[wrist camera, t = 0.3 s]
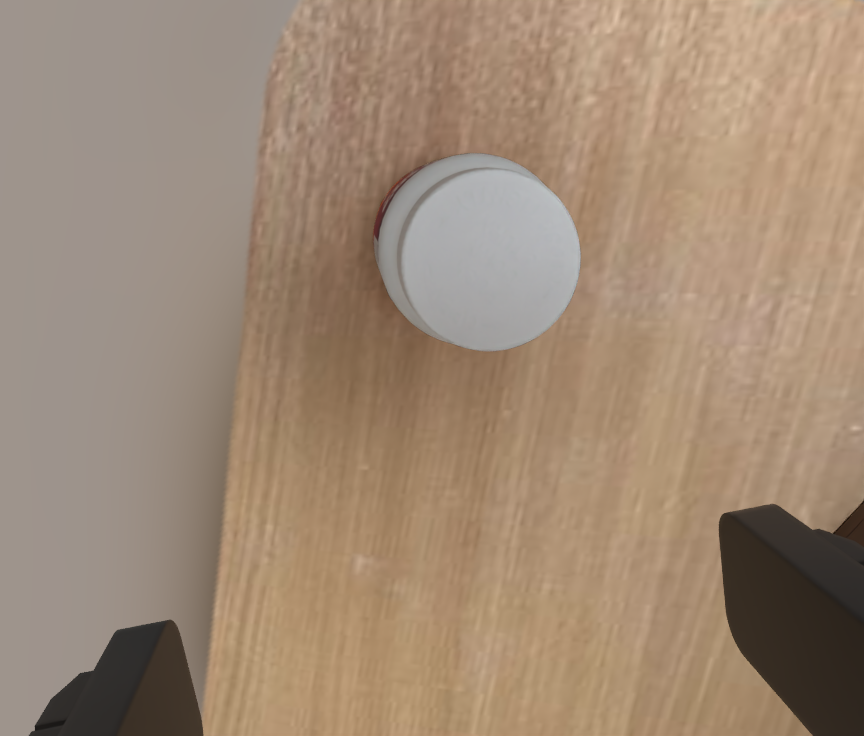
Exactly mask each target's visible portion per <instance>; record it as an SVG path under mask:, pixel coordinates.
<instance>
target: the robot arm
mask: <svg viewBox="0 0 864 736" xmlns="http://www.w3.org/2000/svg"><path fill="white" fill-rule="evenodd" d="M719 539H720V550H721V562H722V573H723V584H724V596H725V607H726V615H727V620H728V623H729V627H730V630H731V633H732V636H733V638H734V640H735V642H736V644H737V646H738V648H739V650H740V651H741V653H742V654H743V655H744V657H745V658H746V659H747V660H748V661H749V662H750V664H751V665H752V666H753V667H754V668H755V669H756V670H757V672H758V673H759V674H760V675H761V676H762V677H763V679H764V680H765V681H766V682H767V683H768V684H769V685H770V687H771V688H772V689H773V690H774V691H775V692H776V694H777V695H778V696H779V697H780V698H781V699H782V700H783V702H784V703H785V704H786V705H787V706H788V707H789V708H790V710H791V711H792V712H793V713H794V714H795V715H796V717H797V718H798V719H799V720H800V721H801V722H802V723H803V725H804V726H805V727H806V728H807V729H808V730H809V732H810V733H811V734H812V735H813V736H864V547H863V546H861V545H860V544H858V543H857V542H855V541H853V540H850V539H847V538H844V537H841V536H838V535H835V534H832V533H829V532H827V531H824V530H821V529H816V530H812V529H810V528H809V527H808V526H806V525H805V524H803V523H802V522H800V521H799V520H798V519H796V518H795V517H793V516H792V515H791V514H789V513H788V512H786V511H785V510H784V509H782V508H781V507H779V506H778V505H775V504H769V505H764V506H759V507H754V508H749V509H743V510H738V511H733V512H728V513H724V514H723V515H722V516H721V518H720V521H719ZM29 736H203V727H202V720H201V715H200V711H199V707H198V703H197V699H196V695H195V691H194V687H193V683H192V679H191V675H190V672H189V668H188V663H187V659H186V656H185V652H184V647H183V644H182V640H181V636H180V633H179V630H178V628H177V626H176V624H175V623H174V621H172V620H167V621H161V622H156V623H151V624H146V625H141V626H136V627H131V628H125V629H120V630H117V631H116V632H115V633H114V635H113V637H112V638H111V640H110V642H109V644H108V645H107V647H106V649H105V651H104V653H103V654H102V656H101V658H100V660H99V662H98V663H97V665H96V667H95V669H94V671H89V672H84V673H80V674H79V675H78V676H77V677H76V678H75V679H73V680H72V681H71V682H70V683H69V684H68V685H67V686H65V688H63V689H62V690H61V691H60V692H59V693H58V694H56V695H55V696H54V697H53V698H52V699H51V700H50V702H49V704H48V705H47V707H46V709H45V710H44V712H43V713H42V715H41V717H40V719H39V720H38V722H37V723H36V725H35V731H32V732H31V733H30V735H29Z"/></svg>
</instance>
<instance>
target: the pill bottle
mask: <svg viewBox="0 0 864 736" xmlns="http://www.w3.org/2000/svg"><path fill="white" fill-rule="evenodd" d="M373 245H374V252H375V258H376V262H377V265H378V268H379V271H380V273H381V276H382V279H383V281H384V284H385V287H386V290H387V292H388V294H389V297H390V298H391V300H392V301H393V302H394V304H395V305H396V307H397V308H398V309H399V311H400V312H401V313H402V314H403V315H404V316H405V317H406V318H407V319H408V320H409V321H410V322H411V323H412V324H413V325H415V326H416V327H417V328H418V329H420V330H421V331H423V332H424V333H426V334H428V335H430V336H432V337H434V338H436V339H438V340H441V341H444V342H447V343H451V344H455V345H457V346H460V347H463V348H466V349H471V350H477V351H501V350H506V349H511V348H515V347H517V346H520V345H523V344H525V343H527V342H529V341H531V340H533V339H535V338H536V337H538V336H539V335H541V334H542V333H544V332H545V331H546V330H548V329H549V328H550V327H551V326H552V325H553V324H554V323H555V322H556V321H557V319H558V318H559V317H560V316H561V315H562V313H563V312H564V310H565V309H566V307H567V306H568V304H569V302H570V300H571V298H572V296H573V294H574V291H575V288H576V285H577V282H578V277H579V271H580V260H581V253H580V243H579V238H578V234H577V231H576V228H575V225H574V222H573V220H572V218H571V216H570V214H569V212H568V211H567V209H566V207H565V206H564V204H563V203H562V202H561V200H560V199H559V198H558V197H557V196H556V195H555V194H554V193H553V192H552V191H551V190H550V189H549V188H547V187H546V186H545V185H544V184H543V183H542V181H541V180H540V179H539V178H538V177H536V176H535V175H534V174H533V173H531V172H530V171H529V170H527V169H526V168H524V167H523V166H521V165H519V164H517V163H515V162H513V161H511V160H508V159H505V158H502V157H499V156H495V155H490V154H483V153H468V154H460V155H454V156H450V157H446V158H443V159H440V160H436V161H433V162H430V163H428V164H426V165H423V166H421V167H419V168H417V169H415V170H413V171H411V172H410V173H408V174H407V175H405V176H404V177H402V178H401V179H400V180H399V181H398V182H397V183H396V184H395V185H394V186H393V187H392V188H391V189H390V191H389V192H388V193H387V195H386V196H385V198H384V199H383V201H382V203H381V205H380V207H379V210H378V213H377V216H376V220H375V224H374V232H373Z"/></svg>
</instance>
